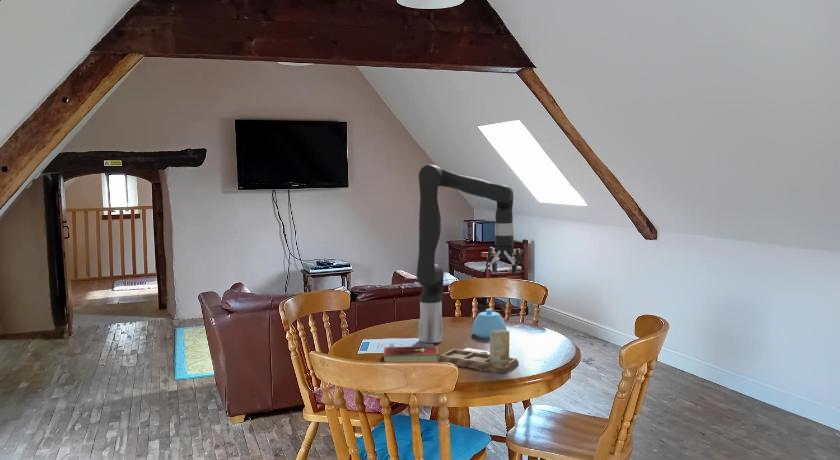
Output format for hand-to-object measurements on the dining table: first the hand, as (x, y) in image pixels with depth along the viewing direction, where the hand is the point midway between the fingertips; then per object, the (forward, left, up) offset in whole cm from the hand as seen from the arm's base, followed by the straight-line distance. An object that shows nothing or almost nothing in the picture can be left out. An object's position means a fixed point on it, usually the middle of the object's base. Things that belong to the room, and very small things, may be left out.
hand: (504, 273), depth 264 cm
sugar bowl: (-13, +11, -30) cm, 35 cm away
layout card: (-4, -18, -30) cm, 35 cm away
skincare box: (+12, -30, -29) cm, 43 cm away
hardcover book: (-22, -37, -31) cm, 53 cm away
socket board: (+4, -30, -30) cm, 43 cm away
